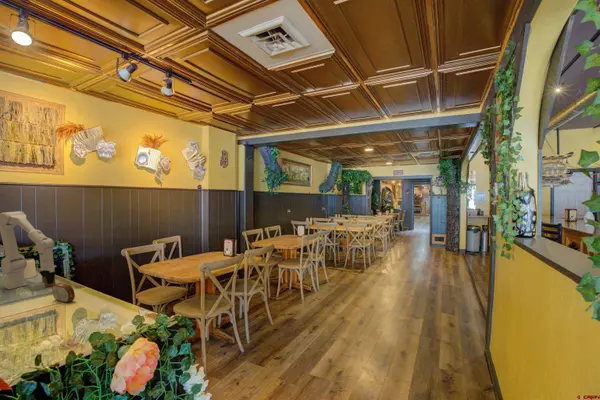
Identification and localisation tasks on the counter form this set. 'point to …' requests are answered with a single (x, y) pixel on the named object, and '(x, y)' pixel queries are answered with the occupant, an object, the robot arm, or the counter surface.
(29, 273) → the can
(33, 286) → the slate block
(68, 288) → the tin
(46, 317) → the counter surface
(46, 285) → the walnut block
